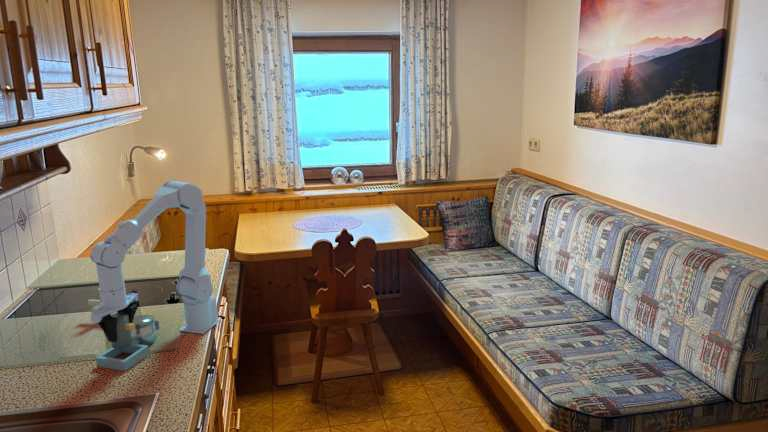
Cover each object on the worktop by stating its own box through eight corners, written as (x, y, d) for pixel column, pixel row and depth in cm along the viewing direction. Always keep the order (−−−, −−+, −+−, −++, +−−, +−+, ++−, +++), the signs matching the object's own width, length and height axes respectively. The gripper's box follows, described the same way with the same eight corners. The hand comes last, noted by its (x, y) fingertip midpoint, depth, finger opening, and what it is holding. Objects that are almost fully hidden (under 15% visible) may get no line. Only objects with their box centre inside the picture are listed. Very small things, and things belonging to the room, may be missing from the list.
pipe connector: (109, 326, 168) (104, 295, 165) (80, 324, 170) (75, 293, 167) (130, 312, 177) (126, 283, 175) (103, 310, 179) (98, 281, 177)
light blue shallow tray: (122, 349, 154) (120, 341, 153) (149, 354, 151) (148, 345, 150) (97, 366, 145) (95, 357, 145) (125, 371, 143) (124, 362, 142)
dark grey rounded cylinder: (120, 339, 150) (116, 311, 148) (141, 341, 148) (138, 314, 146) (107, 347, 145) (103, 319, 143) (129, 350, 144) (125, 322, 142)
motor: (145, 332, 164) (142, 311, 162) (166, 334, 162) (163, 313, 160) (118, 349, 154) (115, 327, 152) (140, 352, 152) (137, 330, 150)
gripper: (120, 276, 151) (127, 322, 154) (77, 297, 137) (86, 347, 141) (142, 278, 149) (148, 325, 152) (100, 300, 135) (109, 351, 139)
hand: (120, 336), depth 146 cm, fingers closed on dark grey rounded cylinder, 5 cm apart
